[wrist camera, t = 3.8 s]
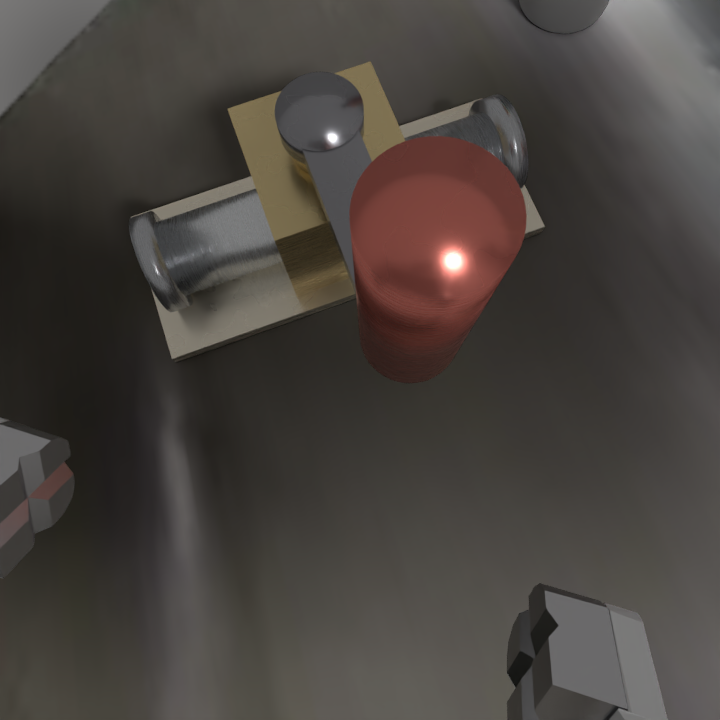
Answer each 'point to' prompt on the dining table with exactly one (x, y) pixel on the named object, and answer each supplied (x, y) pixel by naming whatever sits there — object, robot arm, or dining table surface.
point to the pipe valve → (284, 223)
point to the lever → (405, 225)
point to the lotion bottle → (563, 13)
